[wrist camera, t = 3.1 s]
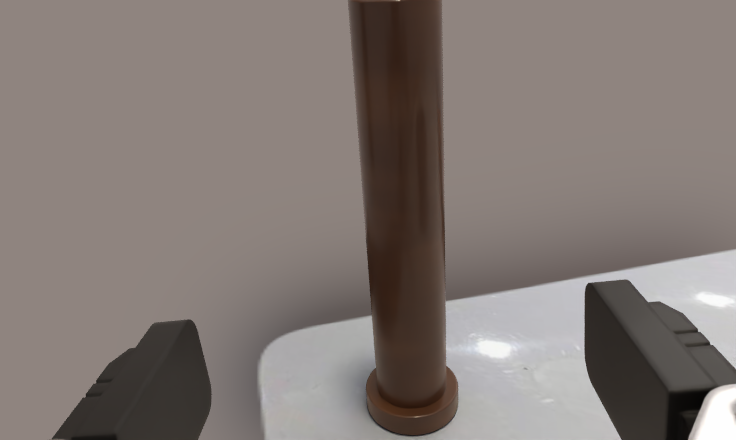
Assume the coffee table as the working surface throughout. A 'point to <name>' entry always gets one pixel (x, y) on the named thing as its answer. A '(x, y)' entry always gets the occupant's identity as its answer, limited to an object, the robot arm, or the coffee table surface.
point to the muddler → (404, 208)
